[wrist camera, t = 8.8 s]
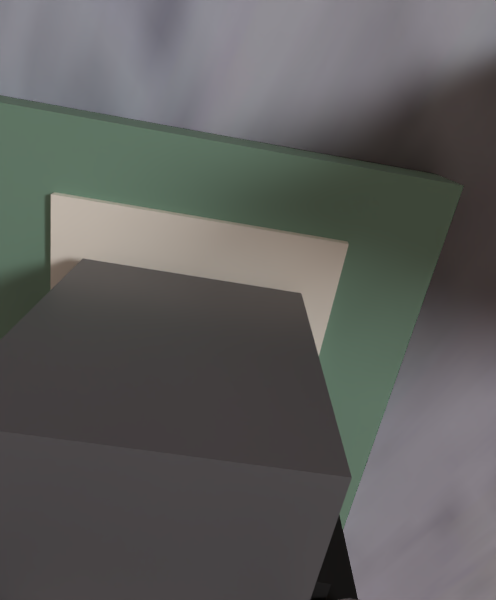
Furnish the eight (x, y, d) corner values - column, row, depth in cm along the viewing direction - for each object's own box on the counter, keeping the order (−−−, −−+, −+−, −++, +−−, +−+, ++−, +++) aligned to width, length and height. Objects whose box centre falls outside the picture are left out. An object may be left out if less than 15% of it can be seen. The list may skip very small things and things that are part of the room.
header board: (-14, 93, 10) (-213, 90, 6) (435, 173, 11) (564, 227, 6) (8, 548, 15) (-85, 722, 11) (303, 582, 16) (323, 759, 12)
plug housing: (82, 258, 9) (-83, 420, 5) (301, 293, 10) (351, 477, 5) (72, 568, 13) (-26, 833, 8) (232, 586, 13) (224, 851, 8)
